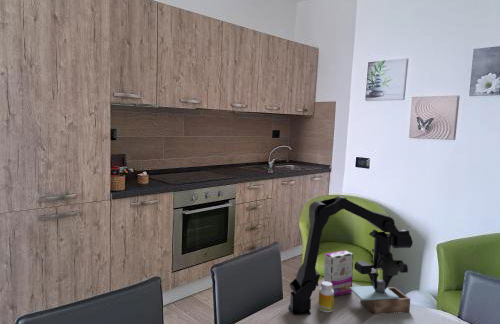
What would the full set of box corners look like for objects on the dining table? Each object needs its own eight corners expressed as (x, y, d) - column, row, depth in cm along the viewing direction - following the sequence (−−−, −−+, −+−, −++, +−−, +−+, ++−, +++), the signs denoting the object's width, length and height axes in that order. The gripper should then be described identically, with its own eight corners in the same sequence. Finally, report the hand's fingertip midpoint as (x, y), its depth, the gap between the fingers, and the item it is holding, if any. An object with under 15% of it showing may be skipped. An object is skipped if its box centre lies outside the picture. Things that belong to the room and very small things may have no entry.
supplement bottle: (333, 313, 125) (334, 287, 125) (318, 311, 126) (319, 285, 126) (333, 306, 131) (334, 281, 130) (318, 304, 132) (319, 279, 131)
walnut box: (373, 314, 126) (374, 300, 125) (360, 301, 135) (361, 288, 135) (409, 312, 128) (410, 298, 127) (394, 299, 138) (394, 287, 137)
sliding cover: (361, 300, 124) (362, 287, 124) (349, 288, 134) (350, 276, 134) (399, 298, 127) (399, 286, 126) (384, 286, 137) (384, 275, 136)
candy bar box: (343, 288, 147) (345, 249, 146) (352, 292, 143) (354, 253, 141) (322, 292, 142) (324, 253, 141) (330, 297, 138) (332, 257, 136)
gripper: (369, 256, 120) (367, 300, 121) (418, 255, 123) (416, 298, 124) (354, 246, 131) (352, 286, 132) (400, 245, 134) (398, 284, 135)
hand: (379, 289), depth 131 cm, fingers closed on sliding cover, 3 cm apart
